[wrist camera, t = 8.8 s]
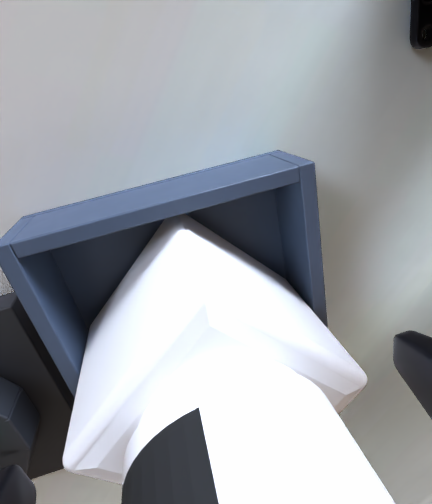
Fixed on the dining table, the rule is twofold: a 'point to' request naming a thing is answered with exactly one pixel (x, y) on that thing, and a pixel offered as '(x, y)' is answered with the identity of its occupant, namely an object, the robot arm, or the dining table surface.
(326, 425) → the medicine bottle
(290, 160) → the blue-grey tray
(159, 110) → the dining table surface
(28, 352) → the control panel
